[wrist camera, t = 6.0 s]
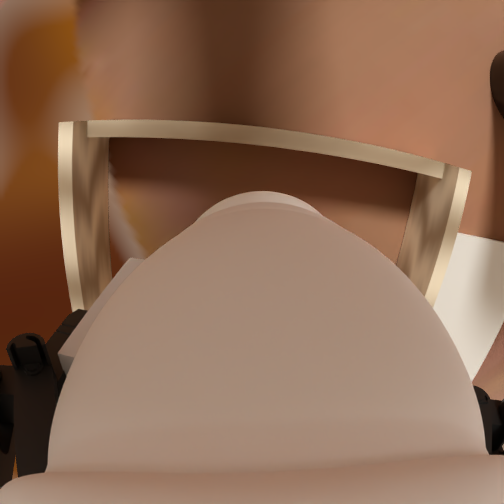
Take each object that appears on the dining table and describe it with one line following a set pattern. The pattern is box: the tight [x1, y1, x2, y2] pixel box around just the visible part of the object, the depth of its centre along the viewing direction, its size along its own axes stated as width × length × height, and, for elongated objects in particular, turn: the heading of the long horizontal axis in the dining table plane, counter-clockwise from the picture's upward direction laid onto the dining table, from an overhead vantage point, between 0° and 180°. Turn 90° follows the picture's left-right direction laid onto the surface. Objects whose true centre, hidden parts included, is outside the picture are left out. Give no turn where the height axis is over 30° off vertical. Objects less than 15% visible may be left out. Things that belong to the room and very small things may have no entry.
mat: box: [433, 233, 504, 382], centre depth 30 cm, size 20×16×1 cm
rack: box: [58, 120, 472, 312], centre depth 25 cm, size 24×28×6 cm
